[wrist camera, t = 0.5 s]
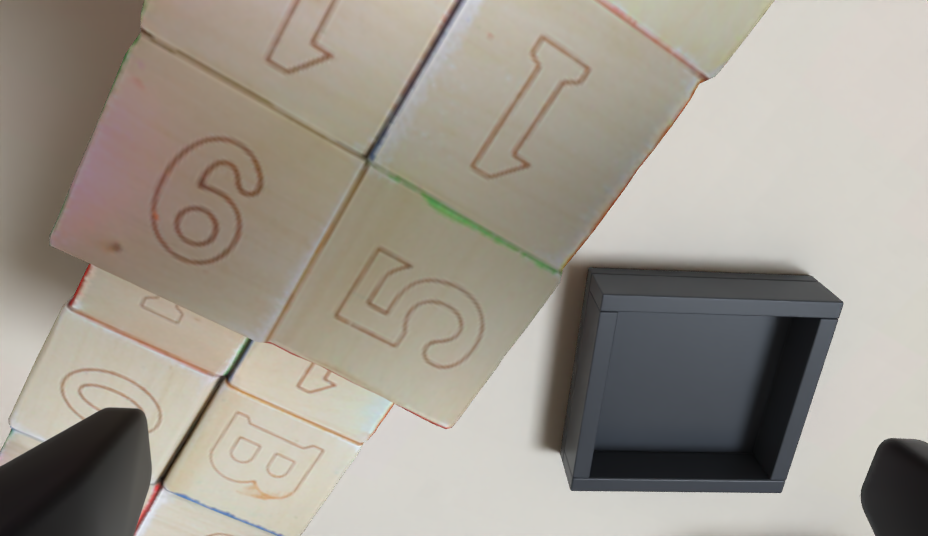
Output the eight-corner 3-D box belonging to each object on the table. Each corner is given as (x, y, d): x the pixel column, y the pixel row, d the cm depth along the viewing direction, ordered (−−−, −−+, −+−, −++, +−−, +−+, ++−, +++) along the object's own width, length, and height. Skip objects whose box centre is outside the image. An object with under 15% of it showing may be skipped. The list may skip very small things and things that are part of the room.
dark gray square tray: (757, 456, 27) (781, 493, 25) (559, 453, 26) (570, 491, 24) (811, 275, 24) (844, 301, 22) (588, 266, 23) (602, 294, 21)
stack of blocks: (295, 398, 24) (190, 777, 13) (121, 315, 23) (-167, 672, 12) (693, -208, 18) (1169, -478, 6) (489, -390, 16) (653, -1187, 5)
